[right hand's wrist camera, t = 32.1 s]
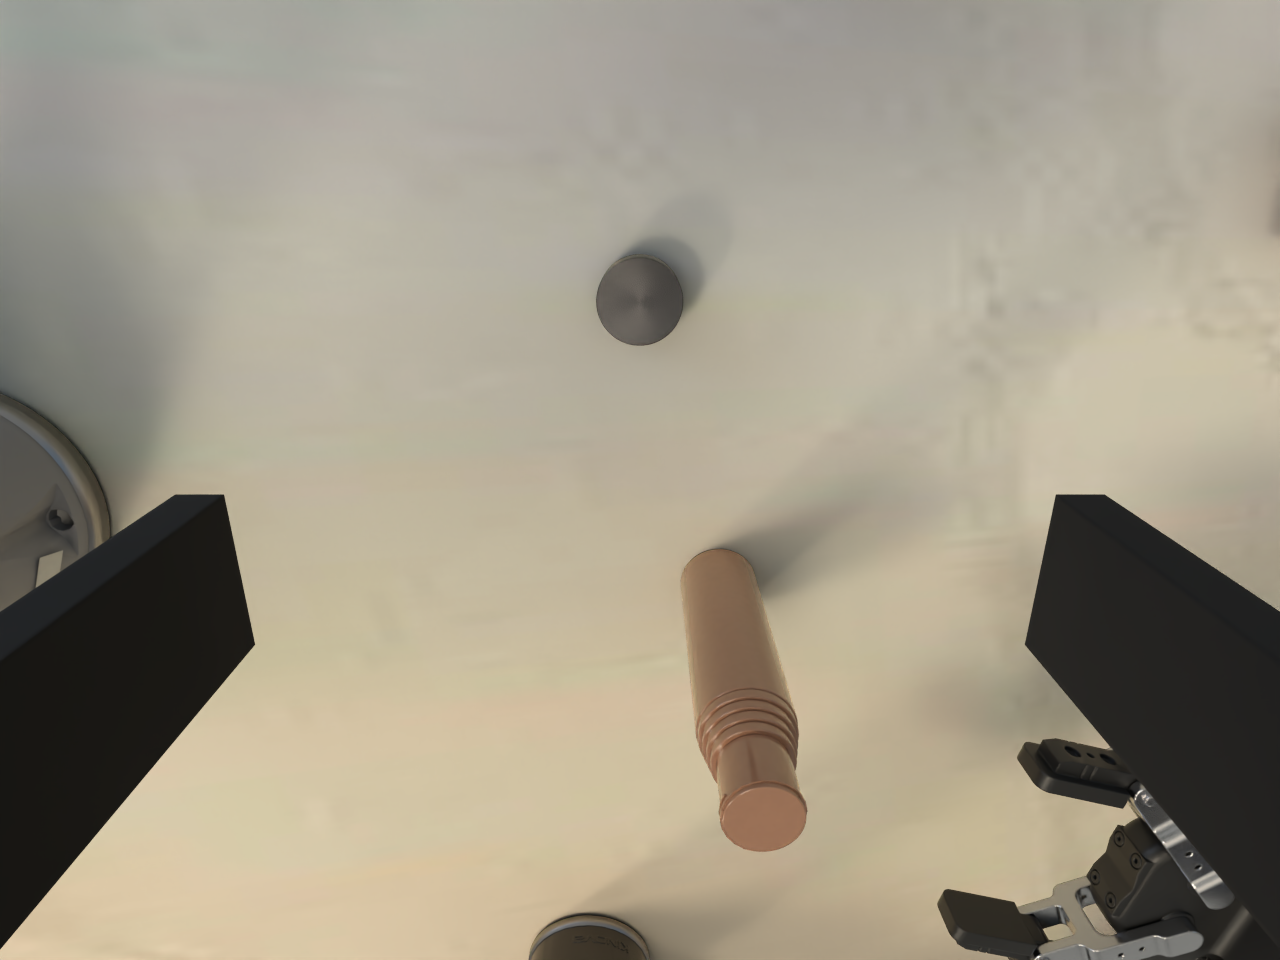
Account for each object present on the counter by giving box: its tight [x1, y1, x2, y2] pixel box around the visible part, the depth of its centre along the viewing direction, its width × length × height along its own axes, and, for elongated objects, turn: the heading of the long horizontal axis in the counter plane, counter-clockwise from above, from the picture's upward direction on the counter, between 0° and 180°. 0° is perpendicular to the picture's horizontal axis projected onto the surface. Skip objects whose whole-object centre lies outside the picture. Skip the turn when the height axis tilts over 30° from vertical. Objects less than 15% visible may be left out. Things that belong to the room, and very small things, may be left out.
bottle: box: [681, 549, 807, 852], centre depth 40 cm, size 5×5×20 cm
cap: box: [596, 254, 683, 346], centre depth 42 cm, size 5×5×2 cm
